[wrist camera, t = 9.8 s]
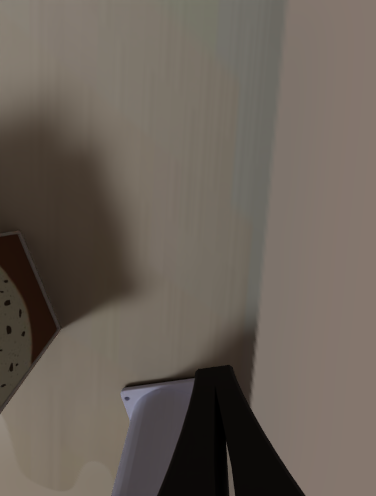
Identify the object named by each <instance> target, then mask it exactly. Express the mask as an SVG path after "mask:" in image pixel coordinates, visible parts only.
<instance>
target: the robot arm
mask: <svg viewBox="0 0 376 496" xmlns="http://www.w3.org/2000/svg"><path fill="white" fill-rule="evenodd" d="M121 397H122V400H123V403H124V405H125V408H126V411H127V414H128V416H129V419H130V424H129V428H128V432H127V436H126V440H125V444H124V448H123V451H122V455H121V459H120V463H119V467H118V471H117V475H116V479H115V483H114V487H113V491H112V495H111V496H229V483H228V466H227V450H226V442H227V447H228V452H229V456H230V461H231V466H232V474H233V482H234V489H235V496H305V495H304V493H303V492H302V490H301V489H300V487H299V486H298V485H297V483H296V481H295V480H294V479H293V477H292V476H291V474H290V473H289V471H288V470H287V468H286V466H285V465H284V463H283V462H282V461H281V459H280V457H279V456H278V454H277V453H276V451H275V449H274V448H273V446H272V444H271V443H270V441H269V440H268V438H267V436H266V435H265V433H264V431H263V430H262V428H261V426H260V425H259V423H258V421H257V419H256V417H255V416H254V414H253V412H252V410H251V408H250V407H249V405H248V403H247V401H246V399H245V397H244V395H243V393H242V390H241V388H240V386H239V384H238V382H237V379H236V376H235V374H234V371H233V367H232V366H230V365H225V366H218V367H211V368H204V369H198V370H197V371H196V373H195V378H192V379H184V380H177V381H170V382H163V383H155V384H148V385H141V386H133V387H126V388H123V389H122V391H121Z"/></svg>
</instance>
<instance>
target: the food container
mask: <svg viewBox="0 0 376 496" xmlns="http://www.w3.org/2000/svg"><path fill="white" fill-rule="evenodd" d="M60 330H61V328H60V325H59V323H58V320H57V318H56V315H55V313H54V311H53V308H52V306H51V303H50V301H49V299H48V296H47V294H46V291H45V289H44V287H43V284H42V282H41V279H40V277H39V274H38V272H37V270H36V267H35V265H34V262H33V260H32V258H31V255H30V253H29V250H28V248H27V245H26V243H25V241H24V238H23V236H22V233H21V231H20V230H19V231H12V232H6V233H0V413H1V412H2V411H3V409H4V408H5V406H6V405H7V404H8V402H9V401H10V399H11V398H12V397H13V395H14V394H15V393H16V391H17V390H18V388H19V387H20V386H21V384H22V383H23V381H24V380H25V379H26V377H27V376H28V374H29V373H30V372H31V370H32V369H33V368H34V366H35V365H36V363H37V362H38V361H39V359H40V358H41V356H42V355H43V354H44V352H45V351H46V349H47V348H48V347H49V345H50V344H51V343H52V341H53V340H54V338H55V337H56V336H57V334H58V333H59V331H60Z"/></svg>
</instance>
